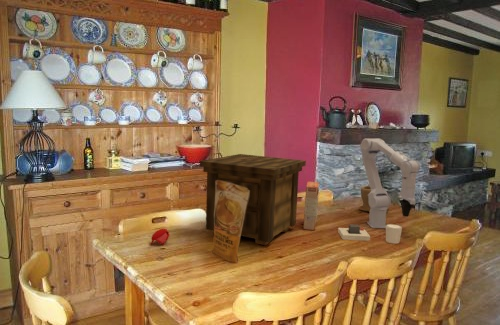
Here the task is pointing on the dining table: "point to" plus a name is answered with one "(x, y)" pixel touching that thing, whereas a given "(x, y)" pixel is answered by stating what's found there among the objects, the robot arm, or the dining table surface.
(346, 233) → the socket plate
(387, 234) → the shot glass
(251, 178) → the crate
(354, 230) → the plug
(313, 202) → the cracker box
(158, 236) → the cap
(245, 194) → the pancake mix bag
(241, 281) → the dining table surface
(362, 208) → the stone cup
